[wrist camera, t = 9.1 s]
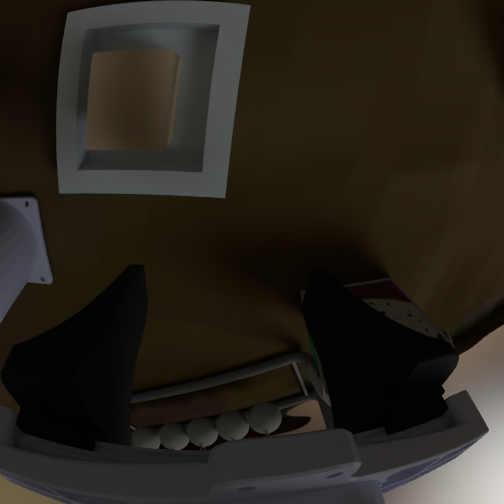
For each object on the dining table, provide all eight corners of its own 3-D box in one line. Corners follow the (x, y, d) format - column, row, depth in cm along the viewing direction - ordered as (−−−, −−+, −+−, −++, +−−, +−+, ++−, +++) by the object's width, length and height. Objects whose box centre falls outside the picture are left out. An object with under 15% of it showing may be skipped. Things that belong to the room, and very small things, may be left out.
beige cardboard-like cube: (115, 135, 17) (86, 150, 12) (121, 61, 14) (92, 53, 10) (174, 136, 17) (161, 150, 13) (183, 61, 15) (173, 49, 11)
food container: (281, 340, 29) (305, 428, 20) (283, 292, 25) (315, 388, 17) (388, 320, 30) (431, 389, 21) (402, 275, 27) (458, 345, 18)
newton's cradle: (131, 432, 37) (126, 533, 21) (86, 399, 31) (68, 517, 16) (324, 389, 35) (364, 508, 20) (310, 343, 30) (365, 502, 14)
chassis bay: (74, 181, 18) (59, 193, 16) (83, 19, 12) (67, 12, 10) (223, 185, 20) (225, 197, 18) (245, 15, 14) (250, 5, 12)
